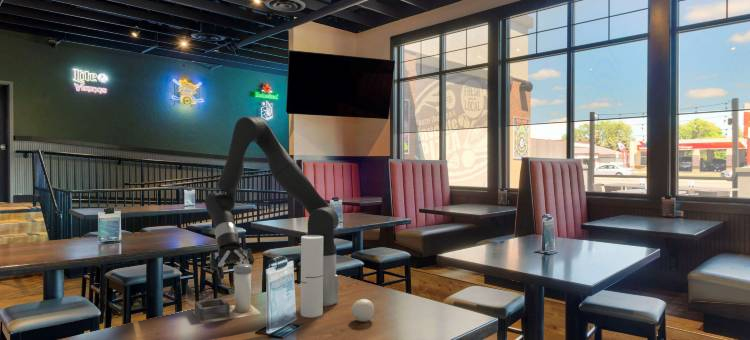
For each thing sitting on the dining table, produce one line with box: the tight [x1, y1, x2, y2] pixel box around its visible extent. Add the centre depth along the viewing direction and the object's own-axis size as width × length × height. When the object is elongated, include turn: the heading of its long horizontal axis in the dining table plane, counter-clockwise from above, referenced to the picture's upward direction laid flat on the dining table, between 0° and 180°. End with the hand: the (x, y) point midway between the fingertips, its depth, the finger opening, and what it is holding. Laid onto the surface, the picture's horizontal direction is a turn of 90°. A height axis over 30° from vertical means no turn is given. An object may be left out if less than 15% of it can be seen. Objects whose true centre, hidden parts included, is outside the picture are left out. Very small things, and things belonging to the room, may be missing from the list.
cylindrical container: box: [300, 234, 324, 318], centre depth 149 cm, size 7×7×25 cm
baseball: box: [350, 298, 375, 323], centre depth 143 cm, size 7×7×7 cm
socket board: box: [192, 297, 262, 325], centre depth 145 cm, size 18×13×5 cm
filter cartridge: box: [233, 263, 253, 312], centre depth 148 cm, size 5×5×14 cm
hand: (235, 277), depth 155 cm, fingers open, 8 cm apart
